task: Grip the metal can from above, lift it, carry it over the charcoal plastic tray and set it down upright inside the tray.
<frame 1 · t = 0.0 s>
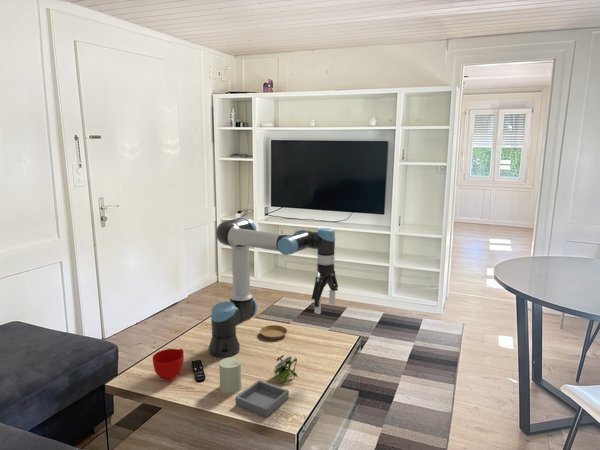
hand: (325, 308, 195), 28 cm above the table, tool pointing down, fingers open, 13 cm apart
passion flower: (286, 377, 191), on the table
tray: (262, 401, 172), on the table
plant saucer: (273, 335, 233), on the table
can: (230, 388, 182), on the table
red bowl: (172, 374, 192), on the table
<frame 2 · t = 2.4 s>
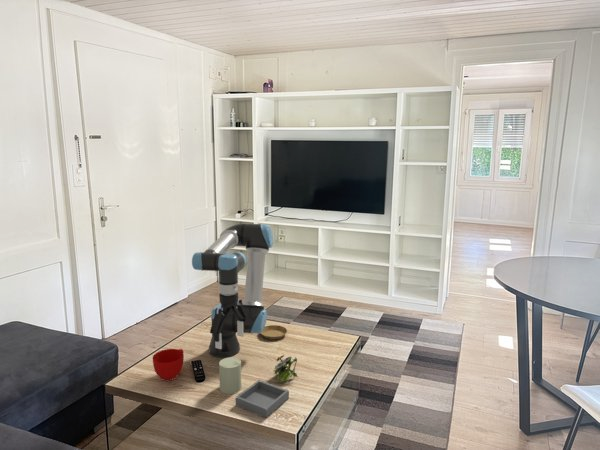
hand: (229, 341, 178), 21 cm above the table, tool pointing down, fingers open, 13 cm apart
nothing on the table moved.
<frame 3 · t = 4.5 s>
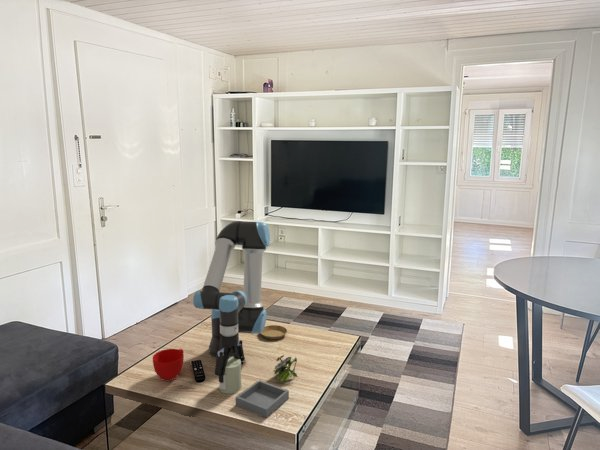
hand: (230, 383, 182), 2 cm above the table, tool pointing down, fingers closed on can, 9 cm apart
can: (230, 388, 182), on the table, touching gripper
everything else where it was.
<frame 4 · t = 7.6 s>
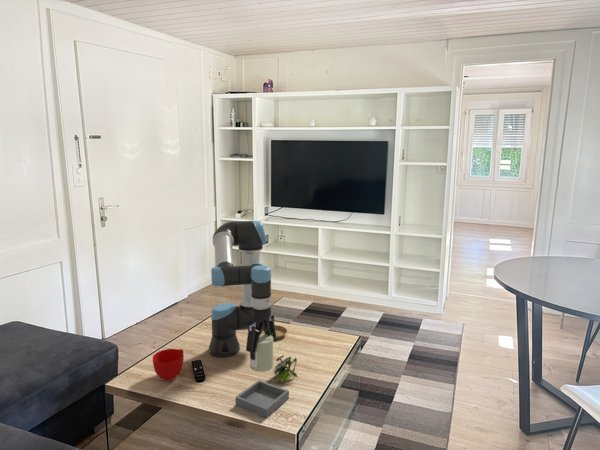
hand: (261, 361, 169), 17 cm above the table, tool pointing down, fingers closed on can, 9 cm apart
can: (261, 366, 169), point 15 cm above the table, touching gripper
everything else where it was.
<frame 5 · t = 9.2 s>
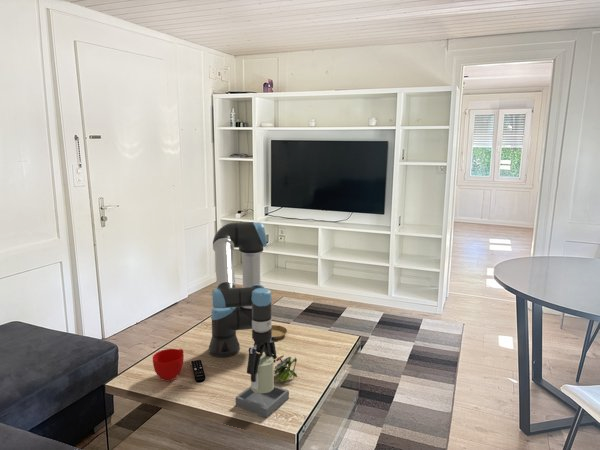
hand: (262, 382, 170), 8 cm above the table, tool pointing down, fingers closed on can, 9 cm apart
can: (262, 387, 171), point 6 cm above the table, touching gripper
everything else where it was.
when the fingers open (4 cm above the table, at t = 10.6 s): can drops 1 cm, resting on tray.
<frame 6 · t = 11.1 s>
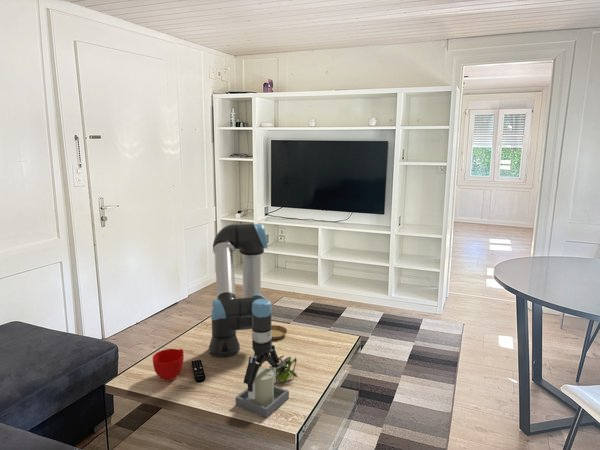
hand: (262, 389, 171), 5 cm above the table, tool pointing down, fingers open, 13 cm apart
can: (262, 400, 172), resting on tray
everything else where it was.
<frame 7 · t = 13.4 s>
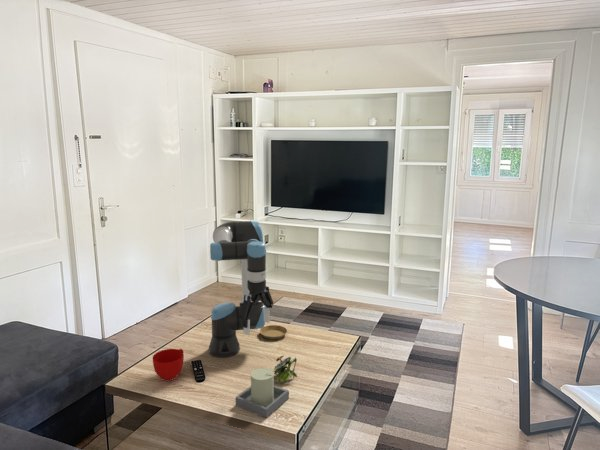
hand: (257, 327, 181), 25 cm above the table, tool pointing down, fingers open, 13 cm apart
nothing on the table moved.
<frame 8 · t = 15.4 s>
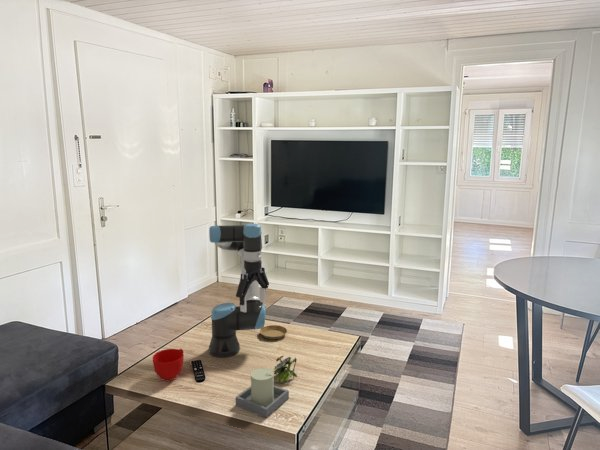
hand: (253, 306, 190), 31 cm above the table, tool pointing down, fingers open, 13 cm apart
nothing on the table moved.
at the end: can inside the target area on the tray (0.1 cm from its centre), point 0.4 cm above the tray's base; can tilted 0°; the gripper is holding nothing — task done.
